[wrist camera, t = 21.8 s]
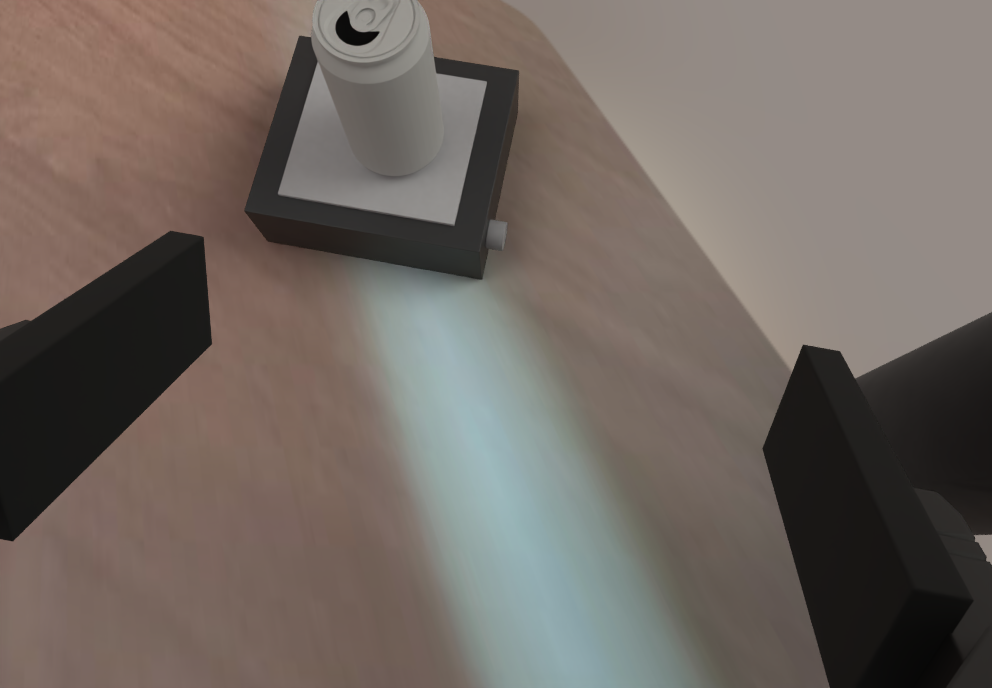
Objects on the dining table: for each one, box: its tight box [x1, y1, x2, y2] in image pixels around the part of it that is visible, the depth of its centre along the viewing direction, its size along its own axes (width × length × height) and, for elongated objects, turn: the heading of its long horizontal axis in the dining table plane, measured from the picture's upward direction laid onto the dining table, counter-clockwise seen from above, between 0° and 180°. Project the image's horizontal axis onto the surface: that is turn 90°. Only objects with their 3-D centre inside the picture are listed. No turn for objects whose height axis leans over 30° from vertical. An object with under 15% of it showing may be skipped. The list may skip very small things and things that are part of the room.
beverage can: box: [311, 0, 444, 176], centre depth 44 cm, size 6×6×12 cm
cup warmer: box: [244, 36, 519, 279], centre depth 52 cm, size 17×14×5 cm
